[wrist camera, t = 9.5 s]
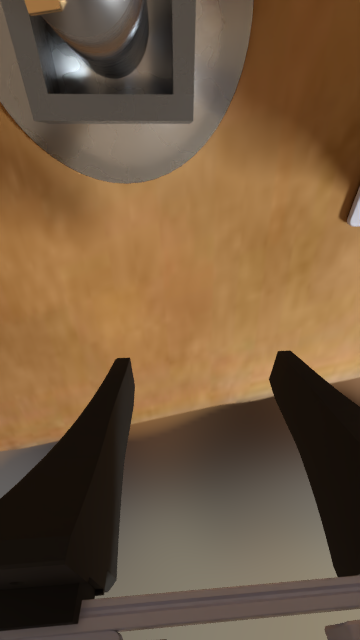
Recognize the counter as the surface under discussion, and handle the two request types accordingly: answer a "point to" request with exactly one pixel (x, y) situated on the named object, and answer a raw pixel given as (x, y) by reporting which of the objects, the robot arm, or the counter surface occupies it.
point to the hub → (126, 88)
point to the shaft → (99, 31)
